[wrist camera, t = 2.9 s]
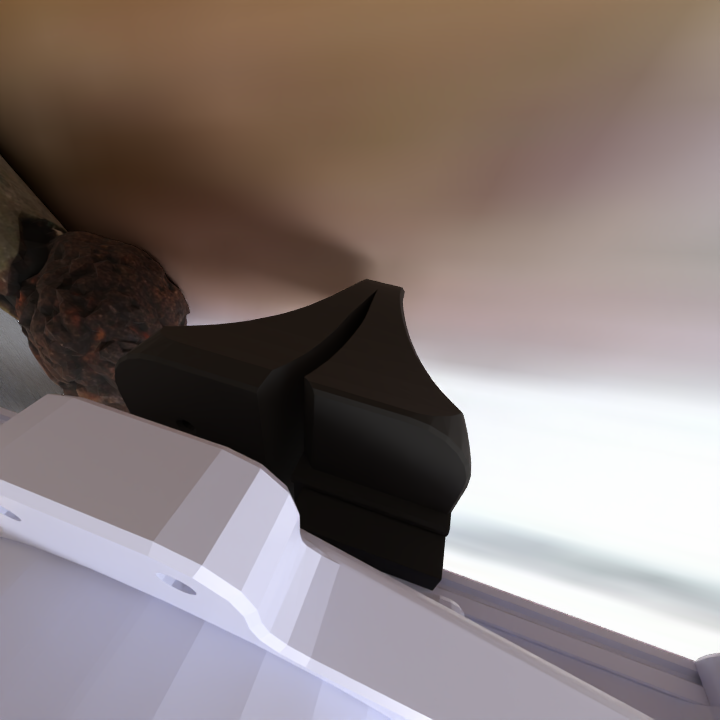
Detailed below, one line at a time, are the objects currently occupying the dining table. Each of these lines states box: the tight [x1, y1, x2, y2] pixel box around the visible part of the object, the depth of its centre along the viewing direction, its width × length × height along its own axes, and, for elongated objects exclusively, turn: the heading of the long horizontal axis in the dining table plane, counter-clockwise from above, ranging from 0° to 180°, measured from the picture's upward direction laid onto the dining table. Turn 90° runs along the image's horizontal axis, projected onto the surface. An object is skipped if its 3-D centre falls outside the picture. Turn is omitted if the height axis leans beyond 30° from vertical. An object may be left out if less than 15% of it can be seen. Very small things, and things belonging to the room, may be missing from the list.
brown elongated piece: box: [0, 155, 190, 414], centre depth 13 cm, size 18×7×6 cm, turn 33°
